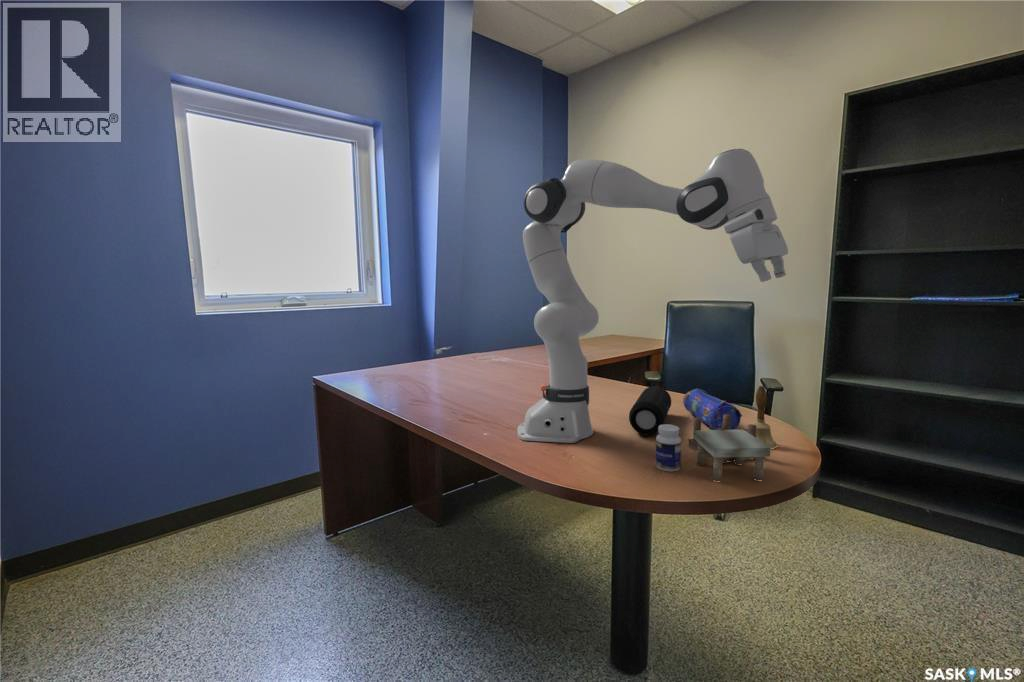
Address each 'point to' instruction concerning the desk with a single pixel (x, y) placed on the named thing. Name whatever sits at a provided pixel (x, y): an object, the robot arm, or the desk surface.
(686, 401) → the pencil case
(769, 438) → the hand bell
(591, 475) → the desk surface
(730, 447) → the small table
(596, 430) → the desk surface
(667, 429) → the pill bottle
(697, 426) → the upturned stool
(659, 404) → the portable speaker
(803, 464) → the desk surface
